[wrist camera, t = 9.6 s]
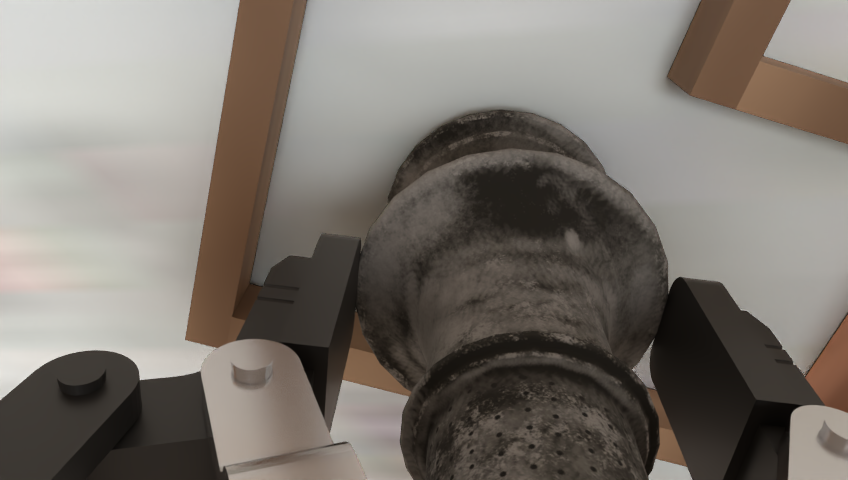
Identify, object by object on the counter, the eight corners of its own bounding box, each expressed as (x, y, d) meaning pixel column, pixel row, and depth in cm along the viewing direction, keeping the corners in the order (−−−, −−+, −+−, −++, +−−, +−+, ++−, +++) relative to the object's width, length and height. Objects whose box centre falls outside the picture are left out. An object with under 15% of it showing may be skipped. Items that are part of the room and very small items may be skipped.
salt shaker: (455, 361, 18) (455, 1046, 7) (324, 180, 16) (50, 768, 5) (667, 259, 16) (1068, 938, 6) (553, 44, 14) (845, 478, 4)
